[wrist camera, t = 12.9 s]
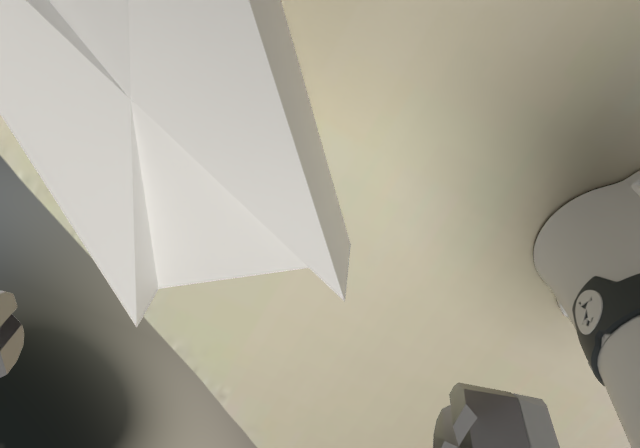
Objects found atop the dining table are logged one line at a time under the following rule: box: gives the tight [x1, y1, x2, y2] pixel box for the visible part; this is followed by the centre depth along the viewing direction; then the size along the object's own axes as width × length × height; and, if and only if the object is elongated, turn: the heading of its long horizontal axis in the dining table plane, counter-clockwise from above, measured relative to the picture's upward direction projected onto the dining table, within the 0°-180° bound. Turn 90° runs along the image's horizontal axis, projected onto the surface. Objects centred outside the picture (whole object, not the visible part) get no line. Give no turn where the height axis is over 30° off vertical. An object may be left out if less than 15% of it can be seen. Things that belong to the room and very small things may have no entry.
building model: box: [0, 0, 351, 327], centre depth 41 cm, size 45×22×10 cm, turn 15°
